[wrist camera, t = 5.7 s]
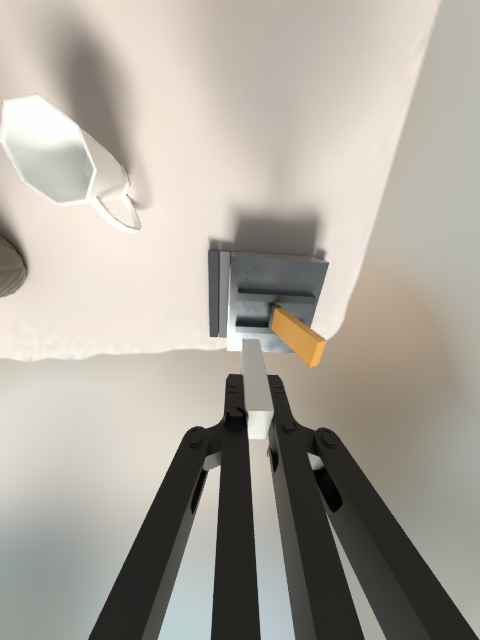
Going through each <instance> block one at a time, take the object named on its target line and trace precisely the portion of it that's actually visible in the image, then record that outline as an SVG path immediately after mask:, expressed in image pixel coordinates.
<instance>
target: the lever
mask: <svg viewBox="0 0 480 640" xmlns="http://www.w3.org/2000/svg"><path fill="white" fill-rule="evenodd" d="M268 327H269V328H271V329H272V330H273V331H274V332H275V333H276V334H277V335H278V336H279V337H280V338H281V339H282V340H283V341H284V342H285V343H286V344H287V345H288V346H289V347H290V348H291V349H292V350H293V351H294V352H295V353H296V354H297V355H298V356H299V357H300V358H301V359H302V360H303V361H304V362H305V363H306V364H307V365H308V366H309V367H313V366H317V365H318V363H319V361H320V358H321V355H322V352H323V350H324V347H325V344H326V341H327V340H325V339H324V338H323V337H321V336H320V335H319V334H317V333H316V332H314V331H313V330H312V329H310V328H309V327H308V326H306V325H305V324H304V323H302V322H301V321H299V320H298V319H297V318H295V317H294V316H293V315H291V314H290V313H288V312H287V311H286V310H284V309H283V308H281V306H279V305H272V306H271V312H270V318H269V324H268Z"/></svg>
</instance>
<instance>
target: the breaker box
mask: <svg viewBox="0 0 480 640" xmlns="http://www.w3.org/2000/svg"><path fill="white" fill-rule="evenodd" d="M328 265H329V262H326V261H324V260H321V259H319V258H316V257H313V256H299V255H284V254H268V253H253V252H238V251H232V254H231V264H230V274H229V302H228V330H227V339H228V351H241V346H242V338H243V339H260V344H261V349H262V352H282V353H283V352H284V353H295V352H294V351H293V350H292V349H291V348H290V347H289V346H288V345H287V344H286V343H285V342H284V341H283V340H282V339H281V338H280V337H279V336H278V335H277V334H276V333H275V332H274V331H273V330H272V329H271V328H269V327H268V324H269V318H270V312H271V306H272V305H279V306H281V308H283V309H284V310H286V311H287V312H288V313H290V314H291V315H293V316H294V317H295V318H297V319H298V320H299V321H301V322H302V323H304V324H305V325H306V326H308V327H309V328H310V327H311V324H312V320H313V317H314V313H315V310H316V306H317V303H318V300H319V296H320V293H321V289H322V286H323V282H324V279H325V276H326V272H327V269H328Z"/></svg>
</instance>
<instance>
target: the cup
mask: <svg viewBox="0 0 480 640" xmlns="http://www.w3.org/2000/svg"><path fill="white" fill-rule="evenodd" d="M0 143H1V144H2V146H3V148H4V150H5V151H6V153H7V155H8V157H9V158H10V160H11V162H12V164H13V165H14V167H15V169H16V171H17V172H18V174H19V176H20V178H21V179H22V181H23V183H24V184H26V185H27V186H29V187H31V188H32V189H34V190H35V191H37V192H38V193H40V194H41V195H43V196H44V197H46V198H47V199H49V200H50V201H52V202H54V203H55V204H57V205H58V206H65V205H76V204H89V203H91V204H92V205H93V207H94V208H95V209H96V210H97V211H98V213H99V214H100V215H101V216H102V217H103V218H104V219H105V220H106V221H107V222H108V223H109V224H111V225H112V226H114V227H115V228H117V229H119V230H120V231H123V232H126V233H129V234H135V233H136V232H137V231H139V230H140V229H141V223H140V220H139V217H138V215H137V212H136V210H135V208H134V206H133V204H132V202H131V200H130V199H129V198H128V196H127V193H128V190H129V188H130V182H129V179H128V176H127V173H126V170H125V167H123V166H122V165H121V164H120V163H118V162H117V160H116V159H115V158H114V157H113V156H112V155H111V153H109V152H108V151H107V150H106V149H105V148H104V147H102V146H101V145H100V144H99V143H98V142H97V141H96V140H94V139H93V138H92V137H91V136H90V135H89V134H88V133H87V132H86V131H84V130H83V129H82V128H81V127H80V126H79V125H77V124H76V123H75V122H74V121H73V120H71V119H70V118H69V117H68V116H66V115H65V114H64V113H63V112H61V111H60V110H59V109H58V108H56V107H55V106H54V105H53V104H51V103H50V102H49V101H48V100H46V99H45V98H44V97H43V96H41V95H40V94H39V93H36V94H31V95H26V96H20V97H15V98H10V99H5V100H3V105H2V115H1V125H0ZM118 199H122V201H123V202H124V203H125V205H126V207H127V209H128V211H129V213H130V215H131V218H132V221H133V223H134V227H130V226H128V225H125V224H124V223H122V222H121V221H119V220H118V219H116V218H115V217H114V216H113V215H112V214H111V213H110V212H109V210H108V209H107V208H106V206H105V205H104V203H103V202H105V201H111V200H118Z"/></svg>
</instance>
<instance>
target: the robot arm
mask: <svg viewBox="0 0 480 640" xmlns="http://www.w3.org/2000/svg"><path fill="white" fill-rule="evenodd" d="M240 372H241V374H239V375H237V374H229V376H228V377H227V379H226V389H225V406H224V416H223V418H222V420H221V421H220V422H219V423H218V424H217V425H215V426H213V427H210V428H207V429H205V428H203V427H199V426H196V427H193V428H191V429H190V430H188V431H187V432H186V434H185V435H184V437H183V439H182V441H181V443H180V445H179V448H178V450H177V452H176V454H175V456H174V458H173V460H172V462H171V465H170V467H169V469H168V471H167V473H166V475H165V477H164V479H163V482H162V484H161V486H160V488H159V490H158V492H157V494H156V497H155V499H154V501H153V503H152V505H151V507H150V509H149V511H148V513H147V516H146V518H145V520H144V522H143V524H142V526H141V528H140V530H139V532H138V535H137V537H136V539H135V541H134V543H133V545H132V547H131V550H130V552H129V554H128V556H127V558H126V560H125V562H124V564H123V566H122V569H121V571H120V573H119V575H118V577H117V579H116V581H115V583H114V585H113V588H112V590H111V592H110V594H109V596H108V599H107V601H106V602H105V605H104V607H103V609H102V611H101V613H100V615H99V617H98V620H97V622H96V624H95V626H94V628H93V630H92V632H91V634H90V636H89V639H88V640H157V639H158V636H159V633H160V629H161V626H162V623H163V620H164V616H165V613H166V609H167V606H168V603H169V600H170V597H171V593H172V590H173V586H174V583H175V580H176V577H177V573H178V570H179V567H180V564H181V560H182V557H183V554H184V550H185V547H186V544H187V541H188V537H189V534H190V531H191V527H192V524H193V521H194V518H195V514H196V511H197V508H198V504H199V501H200V498H201V495H202V491H203V488H204V485H205V481H206V478H207V474H208V471H209V470H210V469H212V468H215V467H217V466H219V465H221V472H220V490H219V508H218V525H217V542H216V559H215V578H214V593H213V611H212V630H211V640H261V636H260V620H259V603H258V588H257V571H256V555H255V539H254V523H253V506H252V491H251V474H250V460H249V459H250V458H249V441H248V439H267V437H268V436H269V447H268V451H267V457H270V464H271V471H272V478H273V485H274V492H275V499H276V506H277V513H278V520H279V527H280V534H281V541H282V548H283V555H284V562H285V569H286V577H287V584H288V591H289V598H290V604H291V611H292V619H293V626H294V631H295V632H294V633H295V640H365V639H364V636H363V632H362V629H361V626H360V623H359V619H358V616H357V613H356V609H355V607H354V603H353V600H352V597H351V593H350V590H349V587H348V583H347V580H346V577H345V574H344V570H343V567H342V564H341V561H340V558H339V555H338V551H337V548H336V544H335V541H334V538H333V535H332V531H331V528H330V525H329V522H328V519H327V515H328V517H329V519H330V521H331V524H332V526H333V527H334V530H335V532H336V534H337V536H338V538H339V540H340V542H341V544H342V546H343V549H344V551H345V553H346V555H347V557H348V559H349V561H350V564H351V566H352V568H353V570H354V572H355V574H356V576H357V578H358V580H359V582H360V585H361V587H362V589H363V591H364V593H365V595H366V597H367V599H368V601H369V604H370V606H371V608H372V610H373V612H374V614H375V616H376V618H377V620H378V622H379V625H380V627H381V629H382V631H383V633H384V635H385V637H386V639H387V640H479V639H478V637H477V636H476V634H475V633H474V631H473V630H472V628H471V627H470V626H469V624H468V623H467V621H466V620H465V618H464V617H463V616H462V614H461V613H460V611H459V610H458V608H457V607H456V605H455V604H454V603H453V601H452V600H451V598H450V597H449V595H448V594H447V592H446V591H445V590H444V588H443V587H442V585H441V584H440V582H439V581H438V580H437V578H436V577H435V575H434V574H433V573H432V571H431V570H430V568H429V567H428V565H427V564H426V562H425V561H424V560H423V558H422V557H421V555H420V554H419V552H418V551H417V549H416V548H415V547H414V545H413V544H412V542H411V541H410V539H409V538H408V537H407V535H406V534H405V532H404V531H403V529H402V528H401V526H400V525H399V523H398V522H397V521H396V519H395V518H394V516H393V515H392V514H391V512H390V510H389V509H388V508H387V506H386V505H385V503H384V502H383V500H382V499H381V497H380V496H379V495H378V493H377V492H376V491H375V489H374V487H373V486H372V485H371V483H370V482H369V480H368V479H367V477H366V476H365V474H364V473H363V472H362V470H361V469H360V467H359V466H358V464H357V463H356V461H355V460H354V459H353V457H352V456H351V454H350V453H349V451H348V450H347V448H346V447H345V446H344V444H343V443H342V441H341V440H340V438H339V437H338V436H337V435H336V434H335V433H334V432H333V431H331V430H330V429H327V428H319V429H317V430H316V431H315V430H312V429H309V428H306V427H304V426H302V425H300V424H299V423H298V422H297V421H296V420H295V419H294V417H293V415H292V413H291V410H290V406H289V403H288V399H287V396H286V392H285V389H284V385H283V382H282V380H281V379H280V377H279V376H278V375H267V374H266V369H265V364H264V359H263V354H262V349H261V344H260V339H243V338H242V346H241V358H240ZM325 511H326V512H325ZM326 513H327V515H326Z"/></svg>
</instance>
